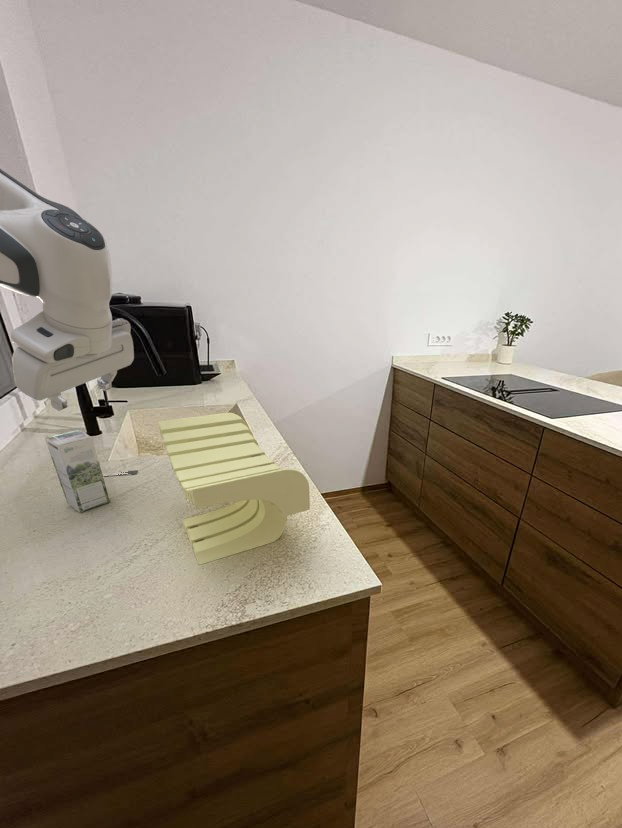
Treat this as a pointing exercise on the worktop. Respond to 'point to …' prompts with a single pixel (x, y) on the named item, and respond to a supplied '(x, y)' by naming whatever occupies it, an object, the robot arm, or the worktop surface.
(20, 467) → the worktop surface
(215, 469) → the slatted curved stool
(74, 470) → the syrup box
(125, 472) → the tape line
